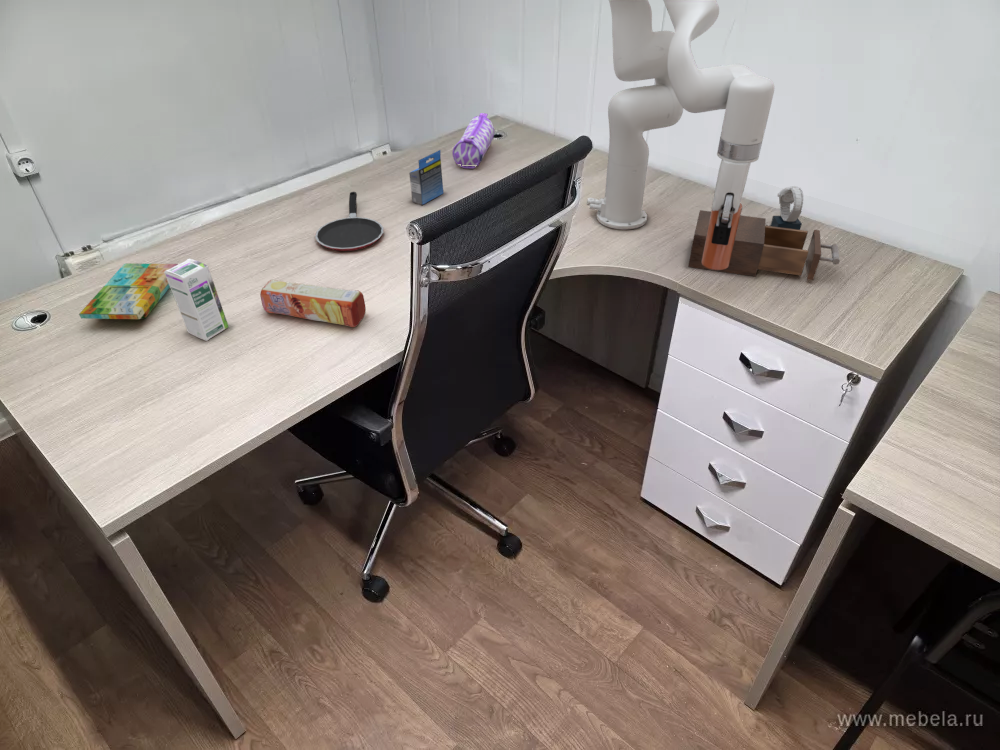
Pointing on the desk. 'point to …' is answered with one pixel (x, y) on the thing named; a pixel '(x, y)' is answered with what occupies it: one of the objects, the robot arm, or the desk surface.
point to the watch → (785, 200)
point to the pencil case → (474, 142)
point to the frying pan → (349, 231)
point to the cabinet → (744, 247)
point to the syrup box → (197, 299)
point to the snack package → (314, 302)
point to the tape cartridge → (427, 179)
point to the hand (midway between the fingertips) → (720, 235)
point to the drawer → (793, 251)
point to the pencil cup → (716, 253)
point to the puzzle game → (129, 292)
